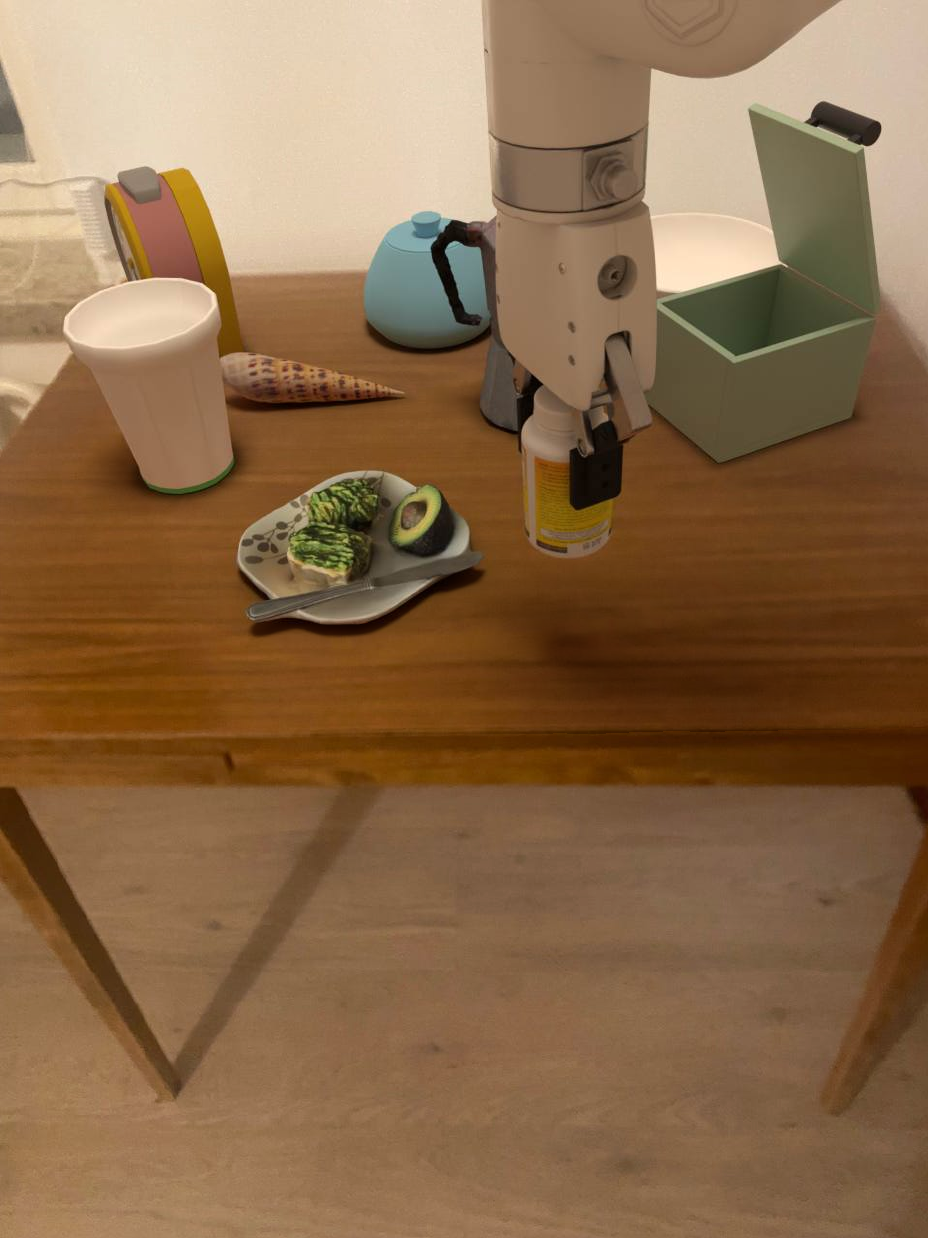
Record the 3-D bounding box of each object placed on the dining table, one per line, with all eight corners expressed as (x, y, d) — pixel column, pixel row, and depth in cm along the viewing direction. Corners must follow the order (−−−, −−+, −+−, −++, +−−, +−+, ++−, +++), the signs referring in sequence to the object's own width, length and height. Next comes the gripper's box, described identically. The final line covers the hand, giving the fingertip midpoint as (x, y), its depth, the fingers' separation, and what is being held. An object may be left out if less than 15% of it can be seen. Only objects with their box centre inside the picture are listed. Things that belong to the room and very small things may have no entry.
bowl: (700, 381, 94) (708, 312, 89) (557, 317, 106) (558, 253, 101) (817, 311, 103) (831, 245, 98) (674, 259, 114) (680, 197, 109)
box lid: (855, 152, 70) (911, 111, 70) (747, 107, 78) (797, 70, 78) (874, 315, 81) (923, 280, 81) (778, 260, 90) (822, 228, 90)
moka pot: (609, 435, 89) (621, 215, 75) (441, 441, 89) (423, 225, 76) (600, 381, 96) (609, 170, 82) (444, 387, 96) (428, 180, 82)
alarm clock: (140, 327, 110) (87, 157, 97) (210, 308, 112) (167, 139, 99) (174, 385, 100) (119, 204, 87) (250, 363, 102) (208, 184, 89)
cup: (92, 495, 86) (28, 338, 76) (168, 421, 95) (120, 270, 84) (212, 519, 83) (163, 357, 72) (280, 440, 91) (245, 284, 81)
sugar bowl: (422, 279, 114) (413, 178, 106) (529, 308, 107) (527, 202, 99) (338, 333, 106) (322, 227, 98) (448, 368, 99) (440, 257, 91)
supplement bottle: (628, 544, 61) (636, 402, 54) (552, 574, 60) (550, 431, 53) (583, 499, 65) (585, 361, 58) (509, 526, 63) (502, 387, 56)
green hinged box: (718, 463, 85) (734, 362, 78) (640, 397, 93) (647, 301, 86) (851, 417, 88) (877, 317, 82) (764, 358, 97) (781, 263, 90)
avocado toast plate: (317, 690, 68) (306, 644, 65) (184, 574, 78) (169, 530, 75) (511, 559, 77) (510, 513, 74) (370, 470, 87) (363, 426, 84)
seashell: (231, 389, 98) (220, 344, 95) (408, 388, 97) (403, 342, 93) (220, 413, 95) (208, 367, 92) (403, 412, 93) (397, 365, 90)
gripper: (742, 200, 42) (702, 530, 54) (550, 106, 54) (553, 394, 66) (591, 242, 40) (586, 574, 52) (426, 134, 52) (454, 426, 64)
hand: (568, 471), depth 59 cm, fingers closed on supplement bottle, 5 cm apart
